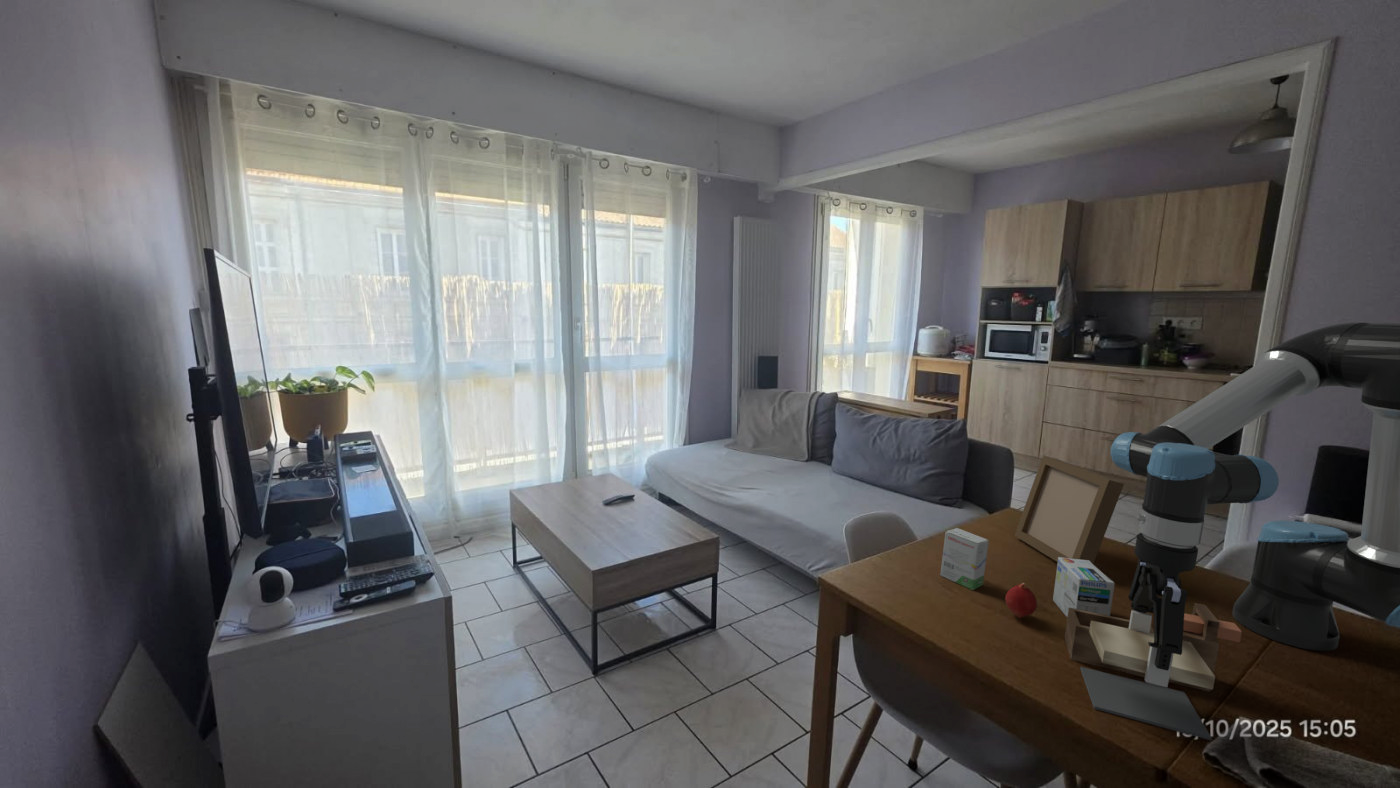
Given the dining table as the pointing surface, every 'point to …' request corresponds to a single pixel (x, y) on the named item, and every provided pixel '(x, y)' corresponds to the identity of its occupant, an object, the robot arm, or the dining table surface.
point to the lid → (1147, 654)
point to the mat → (1143, 702)
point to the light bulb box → (1082, 587)
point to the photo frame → (1068, 510)
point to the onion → (1021, 600)
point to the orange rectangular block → (1224, 630)
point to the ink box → (964, 558)
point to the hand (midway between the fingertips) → (1145, 664)
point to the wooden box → (1085, 648)
